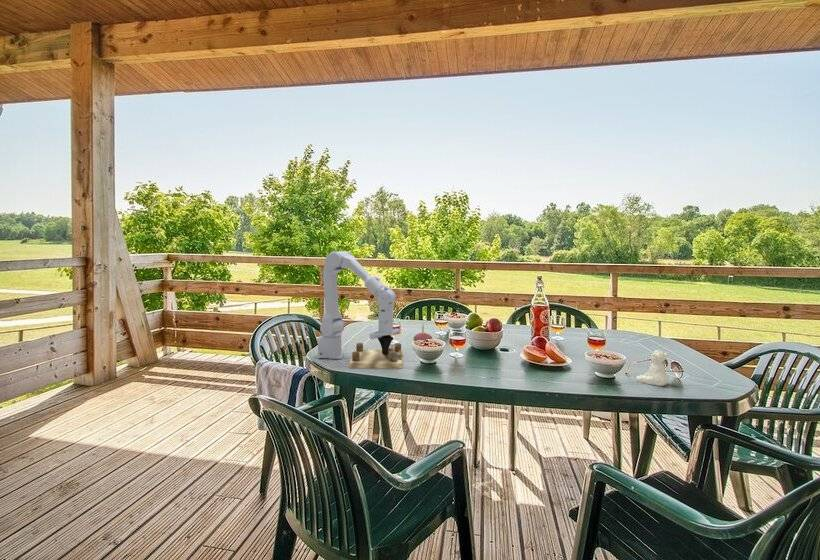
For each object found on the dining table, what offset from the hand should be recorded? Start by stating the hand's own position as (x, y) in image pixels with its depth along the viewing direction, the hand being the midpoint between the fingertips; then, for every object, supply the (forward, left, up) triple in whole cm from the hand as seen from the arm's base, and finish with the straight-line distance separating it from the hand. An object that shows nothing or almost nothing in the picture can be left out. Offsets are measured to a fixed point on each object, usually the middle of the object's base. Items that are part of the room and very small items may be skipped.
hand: (385, 354), depth 170 cm
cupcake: (+16, +23, -4) cm, 28 cm away
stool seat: (-3, +3, -4) cm, 6 cm away
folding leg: (+2, 0, -1) cm, 2 cm away
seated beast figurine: (+95, -22, -4) cm, 97 cm away
